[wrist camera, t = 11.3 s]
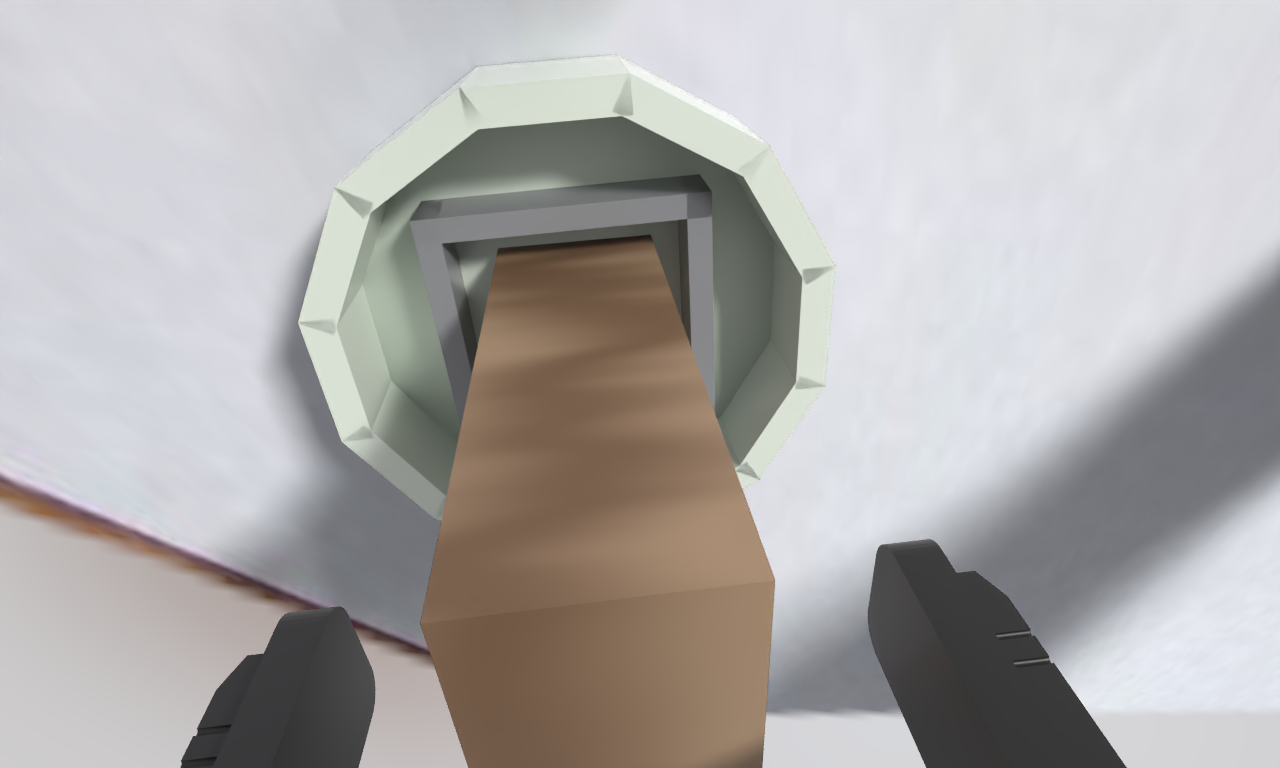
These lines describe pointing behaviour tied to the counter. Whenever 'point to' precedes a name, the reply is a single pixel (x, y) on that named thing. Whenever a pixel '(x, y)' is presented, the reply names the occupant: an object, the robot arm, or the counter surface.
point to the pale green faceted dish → (554, 213)
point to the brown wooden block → (596, 533)
